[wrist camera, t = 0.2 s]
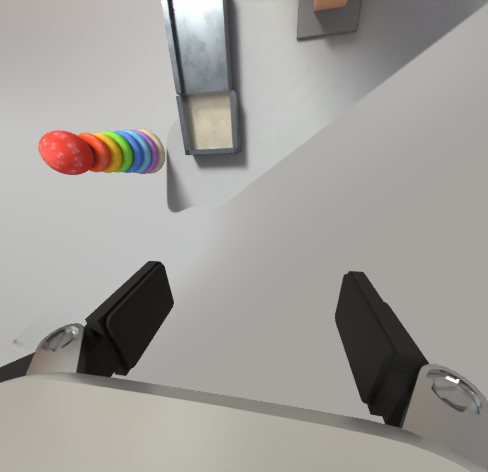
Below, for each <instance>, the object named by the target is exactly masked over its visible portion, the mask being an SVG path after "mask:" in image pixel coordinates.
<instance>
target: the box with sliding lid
mask: <svg viewBox="0 0 488 472" xmlns="http://www.w3.org/2000/svg"><path fill="white" fill-rule="evenodd" d="M161 2H162V8H163V14H164V21H165V26H166V33H167V39H168V45H169V51H170V57H171V64H172V70H173V75H174V82H175V88H176V93H177V94H179V95H181V96H176V99H177V104H178V111H179V117H180V124H181V130H182V136H183V142H184V148H185V154H186V155H197V154H219V153H238V152H241V150H240V130H239V110H238V94H237V93H236V92H235V91H234V90H233V85H232V68H231V51H230V34H229V17H228V0H161Z"/></svg>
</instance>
